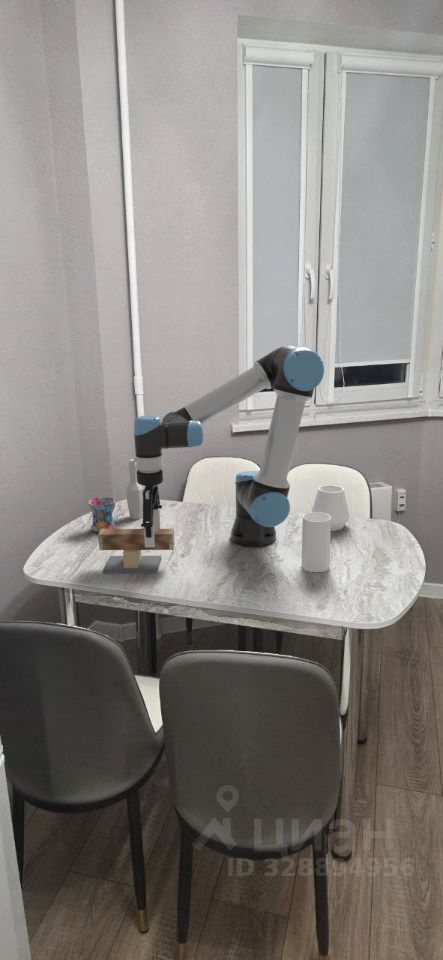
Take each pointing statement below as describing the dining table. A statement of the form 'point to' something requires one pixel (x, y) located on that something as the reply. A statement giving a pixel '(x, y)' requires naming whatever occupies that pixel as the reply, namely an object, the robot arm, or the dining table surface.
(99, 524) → the mug
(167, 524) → the dining table surface
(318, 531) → the cup
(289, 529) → the dining table surface
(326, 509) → the white tapered vase
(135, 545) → the beam
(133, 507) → the low poly bottle
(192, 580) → the dining table surface
